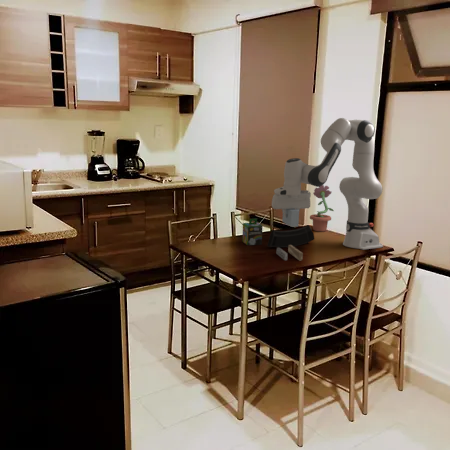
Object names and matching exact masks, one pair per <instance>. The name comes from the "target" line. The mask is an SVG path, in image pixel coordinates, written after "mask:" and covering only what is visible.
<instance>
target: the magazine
mask: <svg viewBox="0 0 450 450" xmlns="http://www.w3.org/2000/svg"><path fill="white" fill-rule="evenodd" d="M312 230H313V228H312V227H311V226H310V225H308V224H307V225H306V226H303V227H300V228H297V229H292V230H291V229H290V230H274V229H272V230H271V232H270V234H269V238H268V240H267V241H268V242H267V244H266V245H267V247H268V248H277V247H279V248H288V245H292V246H293V247H298V246H301V245H308V244H309V243H310V242H312V241H314V240H315V233H314V232H313V231H312Z"/></svg>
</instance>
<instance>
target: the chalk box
mask: <svg viewBox="0 0 450 450" xmlns="http://www.w3.org/2000/svg"><path fill="white" fill-rule="evenodd" d="M242 243H244V244H245V245H246V246H260V245H263V225H262V224H261V223H260V222H258V218H249V221H248V222H243V223H242Z"/></svg>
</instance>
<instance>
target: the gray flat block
mask: <svg viewBox="0 0 450 450" xmlns="http://www.w3.org/2000/svg"><path fill="white" fill-rule="evenodd" d="M275 253H276V255H277V256H278V257H280V258H281V259H282V260H283V261H288V254H289V253H288V252H286V251H285V250H284V249H282V247H276V252H275Z"/></svg>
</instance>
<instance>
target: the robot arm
mask: <svg viewBox="0 0 450 450" xmlns="http://www.w3.org/2000/svg"><path fill="white" fill-rule="evenodd" d="M374 135H375V126H374V123H373V122H372V121H370V120H366V119H363V120H362V119H346V118H344V117H339V118H337V119H336V120H335V121H334V122H332V123H331V124H330V126H328V127H327V129H326V130H325V131H324V133H323V134H322V135H321V137H320V138H321V139H320V145H321V147H322V149H323V150H324V151H325V152H326V154H325V156H324V158H323V159H322V161H321V162H320V164H318V165H312V164H308V163H305V162H304V161H302V159H301V158H297V157H294V158H293V157H292V158H289V159H288V160H286V161H285V163H284V170H283V178H284V181H283V186H281V187H277V188H275V189H274V190H273V192H274V194H273V196H272V199H271V207H272V209H274V210H281V211H282V214H283V213H284V217H285V218H286V217H288V214H286V213H285V211H286V209H296V210H298V211H299V212H300V211H301V209H303V210H304V209H309V208H311V195H312V194H311V192H310V191H309V189H308V190H306V189H305V190H302V184H305V185H306V184H307V185H311V186H314V187H315V188H319V187H320V186H322V185H324V184H326V182H327V180H328V178H329V175H330V173H331V171H332V169H333V167H334V165H335V163H336V162H337V160H338V158H339V157H340V154H341V152H342V145H343V144H344V142H345V141H353V143H354V147H353V156H352V168H353V170H354V171H356V172H357V174H358V177H355V176H347V177H344V178H342V179H341V181H340V182H339V187H338V188H339V191H340V193H341V194H342V195H343V197H344V198H345V201H346V204H347V220H346V225H345V227H346V231H345V237H344V239H343V242H342V245H343V246H345V247H346V248H352V249H358V250H359V249H360V250H363V251H364V250H369V249H370V250H371V249H379V248H383V247H384V244H383V243H382V242H380V238H379V235H378V234H377V233H376V232H375V231H374V230H373V229H372V227H373V228H374V223H373V222H368V220H369V213H370V212H369V207H368V206H367V205H366V204H365V203H364V201H363V199H366V200H374V199H375V200H377V199H379V198H380V196H381V195H382V194H383V186H382V183H381V182H380V181H379V179H378V178H377V176H376V174H375V170H374V157H375V137H374Z"/></svg>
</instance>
